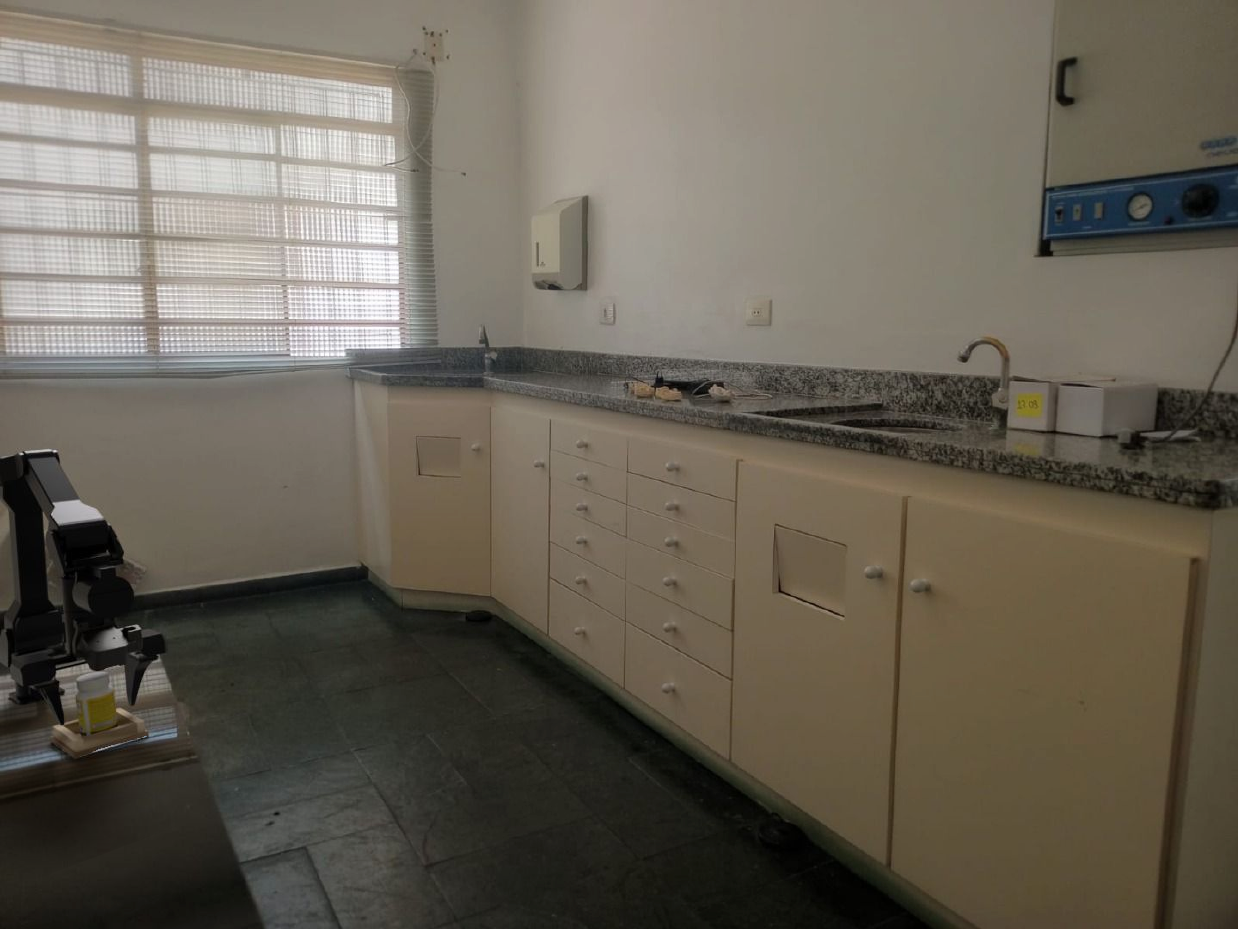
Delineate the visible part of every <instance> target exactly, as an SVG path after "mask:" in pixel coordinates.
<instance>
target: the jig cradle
mask: <svg viewBox="0 0 1238 929" xmlns="http://www.w3.org/2000/svg"><path fill="white" fill-rule="evenodd" d="M116 713H117V721H118V727H115V728H111V729H108V730H105V731H101V732H98V733H94V734H91V735H87V736H84V737H81V735H80V728H79V721H78V718H77V719H73V720H71V721H66V722H64V725H62V726H61V725H59V723H57V724H56V725H52V734H53V735H51V736H50V742H51V743H52V744H53V743H54V744H53V745H55V746H56V745H57V746H58V747H57V746H56V747H57V748H59V749H60V748H61V749H60V750H62V749H63V750H64V751H65V752H64V751H63V750H62V751H63V752H64V753H66V752H67V753H68V754H70V755H71V756H72V757H71V756H70V755H69V756H70V757H71V758H73V757H74V758H77V757H80V756H83V755H86V754H89V753H92V752H93V751H96V750H98V749H101V748H105V747H108V746H111V745H115V744H118V743H123V742H127V741H130V740H135V739H137V738H142V737H144V736H149V737H150V735H149V731H148V730H147V729H146V726H145V724H146V723H145V721H144V720H143V719H141V718H139V717H138V716H136V715H134V714H132V713H130V712H128V711H127V710H125V709H123V708H121V707H116ZM67 753H66V754H67ZM68 754H67V755H68ZM74 758H73V759H74Z"/></svg>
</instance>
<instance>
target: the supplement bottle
mask: <svg viewBox="0 0 1238 929" xmlns="http://www.w3.org/2000/svg"><path fill="white" fill-rule="evenodd" d="M75 680H76V683H75V684H76V690H77V692H76V693H75V696H74V699H75V706H76V713H77V719H78V721H79V728H80V735H81V737H84V736H87V735H91V734H94V733H98V732H101V731H105V730H108V729H111V728H115V727H118V721H117V713H116V709H117V706H116V699H115V691H114V688H113V686H112V685H111V684H110V675H109V673H108V672H107V671H93V672H88V673H86V674H82V675H80V676H78V677H77V678H76V679H75Z"/></svg>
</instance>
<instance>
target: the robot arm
mask: <svg viewBox="0 0 1238 929" xmlns="http://www.w3.org/2000/svg"><path fill="white" fill-rule="evenodd" d="M0 502H1V503H2V505H4V507H5V508H6V509H7V511H8V512H7V513H8V521H9V522H8V523H9V537H10V538H9V539H10V551H11V563H12V575H13V591H14V600H13V601H12V602H11V605H9V607H8V609H7V611H6V612H5V614H4V616H3V621H4V623H3V624H4V626H3V627H4V628H3V629H2V630H1V633H0V663H1V664H2V665H4V666H5V667H6V668H9V671H10V679H11V680H13V681H14V689H15V691H12V692H10V693H8V697H10V698H11V699H12V700H14V701H15V702H16V703H17V704H19V705H23V704H29V703H32V702H35V701H39V700H44V701H45V702H46V704H47V706H48V707H49V710H50V711H51V713H52V715H53V716H54V718H55V720H56V721H57V724H59V725H61V726H62V725H64V723H65V714H64V713H65V712H64V709H63V704H62V698H61V695H63V694H65V693H66V690H65V689H64V688H62V687H60V684H61V683H60V680H58V679H57V677H56V676H57V671H60V670H61V671H62V670H64V669H69V668H74V667H77V666H81V665H85V664H87V665H88V667H89V669H90V670H91V671H93V672H103V671H105V670H106V669H108V668H114V667H118V666H119V667H122V666H124V676H125V677H124V678H125V688H126V697H127V703H128V705H129V706H130V707H134V706H135V705H136V701H137V698H138V694H139V691H140V687H141V684H142V681H143V678H144V675H145V673H146V670H147V669H148V667H149V666H150V665H151V664H152V663H153V662H155V661H158V660H159V658H160V656H159V655H162V654H166V653H167V652H168V651H169V647H168V640H167V638H166V635H165V634H163V633H162V632H159V631H156V630H154V629H151V628H146V629H142V628H141V627H140V626H139V625H138V624H133V625H129V626H124V627H122V628H119V627H118V625H117V624H116V618H118V617H121V616H123V615H124V614H126V613H127V612H128V610H129V609H130V608H131V606H132V605H133V602H134V598H135V591H134V588H133V586H132V584H131V583H130V582H129V581H128V580H127V579H125V578H124V577H122V576H119V575H117V570H116V567H117V566H123V565H124V563H125V562H124V558H123V557H124V555H125V550H124V549H123V547H122V544H121V542H120V539H119V538H118V536H117V533H116V531H115V529H113V526H112V524H111V523H110V522H108V521H107V520H106V518H105V517H104V516H103V515H102V513H101V512H100V510H99V509H97V508H95V507H92V506H90V505H87V504H85V503H84V502H82V500H81V499H80V497H79V495H78V494H77V491H76V490H75V488H74V487H73V485H72V483H71V481H70V480H69V477H68V476H67V474H66V473H65V470H64V469H63V467H62V466H61V460H60V455H59V452H58V451H57V450H56V449H54V450H53V449H51V448H43V449H42V448H41V449H30V450H22V452H17V453H15V454H13V455H3V456H2V455H1V456H0ZM44 516H45V518H46V519H47V521H48V524H47V525H48V526H47V531H45V529H44V528H45V527H44ZM45 532H46V533H45ZM46 550H47V552H46ZM46 553H48V554H49V556H50V558H51V559H50V560H52V563H53V565H54V567H55V568H56V570H57V573H58V574H59V576H60V578H59V579H60V589H61V599H62V609H63V614H62V612H60V611H59V609H58V608H57V606H55V605H54V604H53V602H52V601H51V600H50V598H49V586H48V585H49V584H48V571H47V570H48V569H47V558H46V557H47V556H46ZM107 553H108V554H107ZM106 554H107V555H106Z"/></svg>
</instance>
